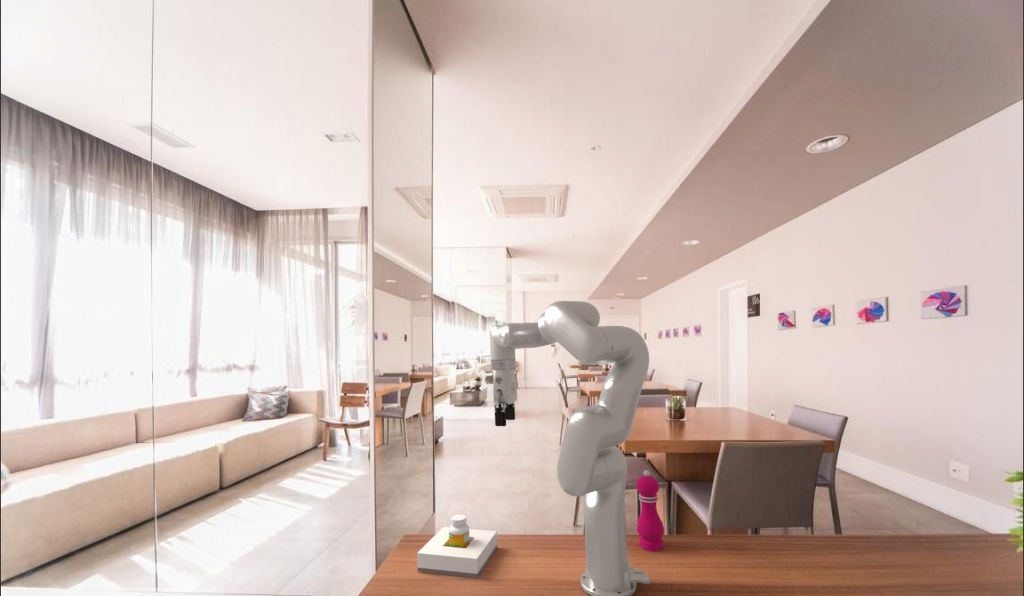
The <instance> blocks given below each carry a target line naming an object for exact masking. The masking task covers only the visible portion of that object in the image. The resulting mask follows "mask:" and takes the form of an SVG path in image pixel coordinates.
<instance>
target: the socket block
mask: <svg viewBox="0 0 1024 596" xmlns="http://www.w3.org/2000/svg"><path fill="white" fill-rule="evenodd" d="M449 528H450V526H449V527H448V526H443V527H442V528H441V529H440V530H439V531H437V533H436V534H435V535H433V537H432V538H431V539H430V540H428V541H427V542H426V544H424V546H423V547H421V548H420V549H419V550H418V552H416V553H417V555H416V557H417V558H416V559H417V572H418V571H422V572H421V573H425V572H431V573H430V574H435V573H438V575H444V574H445V576H455V577H464V578H471V577H473V578H472V579H478V578H479V577H480V575H481V573H482V572H483V570H484V569H485V568H486V566H487V564H488V563H489V561H490V560H491V558H492V557H493V555H494V554H495V552H496V551H497V549H498V534H497V533H498V532H497V531H496V530H485V529H476V528H475V529H471V528H469V541H470V544H469V545H468V546H467V548H456V547H449ZM432 572H433V573H432ZM478 576H479V577H478Z"/></svg>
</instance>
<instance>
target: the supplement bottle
mask: <svg viewBox="0 0 1024 596" xmlns="http://www.w3.org/2000/svg"><path fill="white" fill-rule="evenodd" d="M450 522H451V525H450V526H449V527H450V528H449V547H456V548H467V546H468V545H469V544H470V541H469V529H470V526H469V525H468V523H467V516H466V515H465V514H456V515H455V514H454V515H453V516H451V518H450Z"/></svg>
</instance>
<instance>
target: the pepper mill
mask: <svg viewBox="0 0 1024 596" xmlns="http://www.w3.org/2000/svg"><path fill="white" fill-rule="evenodd" d="M635 483H636V485H635V487H636V490H637V491H638V493H639V494H638V500H639V501H640V505H641V509H640V514H639V517H638V519H637V523H636V532H637V533H638V536H639V537H638V542H639V547H640V549H643V550H645V551H648V552H649V551H650V552H659V551H661V550H663V549H664V540H663V538H662V537H663V536H664V534H665V526H664V524H663V520H662V519H661V517H660V514H659V513H658V510H657V502H658V501H659V498H658V497H659V496H658V494H657V493H659V490H660V485H659V482H658V480H657V478H656V477H653V476H652V475H651V472H650V471H649V470H647V469H646V470H644V471H643V475H641V476H640V477H638V479H637V480H636V482H635Z"/></svg>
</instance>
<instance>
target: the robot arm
mask: <svg viewBox="0 0 1024 596" xmlns="http://www.w3.org/2000/svg"><path fill="white" fill-rule="evenodd" d="M600 321H601V316H600V312H599V309H598V308H596V306H595V305H593V304H592V303H590V302H587V301H583V300H582V301H581V300H579V301H577V300H575V301H574V300H558V301H554V302H553V303H551V304H549V306H547V308H546V309H545V311H544V312H543V313H542V314H541V315H540V316H539V318H538V321H537V322H509V323H505V324H494V325H492V326H490V328H489V342H490V343H489V344H490V347H489V349H490V368H491V369H490V371H492V372H493V373H492V374H493V377H492V378H493V379H492V394H493V395H492V396H493V404H494V405H493V407H494V410H493V411H494V425H495V426H496V427H506V426H507V421H515V420H516V408H515V402H517V400H518V391H517V381H516V379H517V378H516V372H515V371H516V369H517V366H516V365H517V362H516V350H519V349H533V348H541V347H545V346H551V345H553V344H556V343H558V344H559V345H560V346H561V347H563V348H564V349H565V350H566V351H567V352H568V353H569V354H570V355H571V356H572V357H574V359H575V360H577V361H578V362H580V363H583V364H584V365H590V366H592V365H594V366H596V365H604V364H613V366H612V368H610V371H609V372H608V374H607V375H606V377H605V378H604V379H603V380H604V381H603V382H602V386H601V392H600V395H599V398H598V401H597V402H596V403H595V404H594V405H591V406H586V407H582V408H580V409H577V410H576V411H575V412H573V413H572V414H571V416H570V417H569V419H568V420H567V422H566V427H565V430H564V433H563V437H562V443H561V447H560V451H559V455H558V462H557V466H556V470H557V471H556V473H557V479H558V484H559V486H560V488H561V489H562V490H563V492H564V493H566V494H567V495H569V496H572V497H584V499H583V518H584V520H583V522H584V535H585V536H584V539H585V543H584V544H585V557H586V558H585V559H586V562H585V563H586V570H585V571H584V572H583V573H582V574H581V576H580V586H581V588H582V589H583V591H584V592H585V593H587V594H588V595H590V596H632V595H633V594H635V592H636V591H637V583H638V584H639V583H641V584H644V585H650V582H651V581H650V574H649V573H644V571H645V570H644V569H642V568H634V567H631V560H629V555H628V554H629V551H628V539H627V521H626V497H625V496H626V484H627V477H628V464H627V463H628V462H627V459H626V457H625V455H624V453H623V452H622V451H621V449H620V448H618V447H617V446H619V445H622V444H623V443H625V442H626V441H627V440H628V439H629V436H630V435H631V431H632V428H633V425H634V420H635V417H636V413H637V408H638V405H639V402H640V401H639V400H640V397H641V392H642V389H643V386H644V383H645V380H646V378H647V374H648V370H649V366H650V353H649V349H648V345H647V343H646V341H645V340H644V338H643V336H642V335H641V334H640V333H639V332H638V331H637V330H635V329H633V328H632V327H627V326H623V325H605V326H603V325H601V326H599V324H600Z"/></svg>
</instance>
